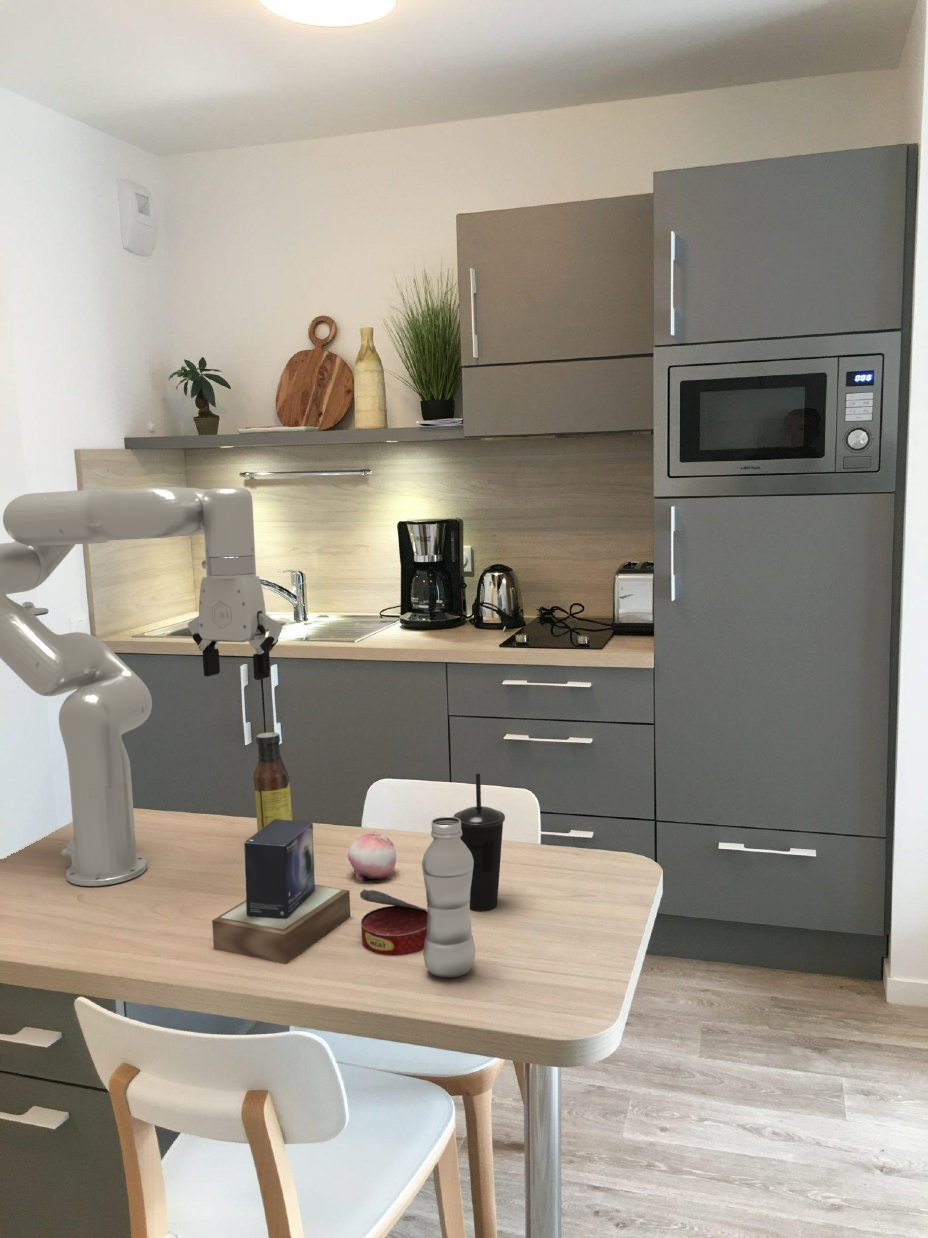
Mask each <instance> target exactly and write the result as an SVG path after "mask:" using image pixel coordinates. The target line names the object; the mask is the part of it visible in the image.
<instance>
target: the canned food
mask: <svg viewBox="0 0 928 1238" xmlns="http://www.w3.org/2000/svg"><path fill="white" fill-rule="evenodd" d="M359 896H360V899H362V901H366V902H369V903H376V904H380V905H388V906H384V907H379V908H376V909H373V910H371V911H369V912H367V913H366V914H365V915H364V916H363V917H362V918H361V921H360V924H361V926H360V927H361V944H362V946H363V948H365V950H367V951H369V952H371V953H372V954H376V955H380V956H381V955H382V956H391V957H392V956H406V955H410V954H415V953H418V952H420V951H422V950H423V951H424V942H425V937H426V929H427V914H428V912H427V908H423V907H419V906H418V905H415V904H412V903H409V902H407V901H404V900H402V899H399V898H396V897H394V896H392V895H390V894H387V893H385V892H382V891H379V890H374V889H373V890H372V889H370V890H367V889H366V888H364V889H363V890H361V891H360V893H359Z"/></svg>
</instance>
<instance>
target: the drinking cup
mask: <svg viewBox="0 0 928 1238" xmlns="http://www.w3.org/2000/svg"><path fill="white" fill-rule="evenodd" d="M481 786H482V784H481V773H475V796H476V800H475V801H476V803H475V804H476V805H475V806H471V807H467V808H464V809H463V810H460V811H458V812H456V813H454V814H453V816H452V817H455V818H458V819H460V820H461V830H462V836H461V837H460V839H461V840H462V841H463V842H464V844H465V845H466V846H467V847H468V849H469V850H470V852H471V853H472V857H473V860H474V864H473V874H472V882H471V889H470V902H469V903H470V911H475V912H486V911H490V910H491V911H492V910H493V909H495V908H496V907H497V906H498V901H499V900H498V898H499V884H500V870H501V869H500V868H501V855H502V840H503V829H504V823H505V820H506V815H505V813H504V812H502V811H500V810H498V809H495V808H492V807H489V806H482V793H481V791H482V787H481Z"/></svg>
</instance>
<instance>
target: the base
mask: <svg viewBox="0 0 928 1238" xmlns="http://www.w3.org/2000/svg"><path fill="white" fill-rule="evenodd" d="M350 894H351V893H350V889H349V890H348V889H343V888H338V887H331V886H326V885H321V884H315V890H314V891H313V892H312V893H311V894H310V895H309V896H308V897H307V898H306V899H305V900H304V901H303V902H302V903H301V904H300V905H299V906H298V907H297V908H296V909H295V910H294V911H293V912H292V913H291V914H290V915H289V916H288V917H287V918H278V917H268V916H257V915H246V899H245V900H244V901H242V902H240V903H239V904H237V905H235V906H233V907H232V908H230V909H229V910H227V911H225V912H223V913H222V914H221V915H219V916H217V917H215V918H213V919H212V920H211V921H212V924H211V925H212V937H213V938H212V940H213V949H215V950H220V951H225V952H229V953H234V954H240V955H244V956H249V957H253V958H258V959H263V960H267V961H271V962H273V961H274V962H278V963H282V964H289V963H290V962H291V961H292V960H293V959H295V958H296V957H298V956H299V955H300V954H302V953H303V952H304V951H306V950H307V949H309V948H310V947H312V946H313V945H314V944H315V943H317V942H318V941H319V940H321V939H322V938H323V937H325V936H326V935H328V934H329V933H330V932H332V931H333V930H334V929H336V928H338V927H339V926H340V925H341V924H343V923H344V922H345V921H347V920H348V919H349V918H351V917H352V915H351V897H350Z"/></svg>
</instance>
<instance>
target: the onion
mask: <svg viewBox="0 0 928 1238" xmlns="http://www.w3.org/2000/svg"><path fill="white" fill-rule="evenodd" d="M347 858H348V861H349V863H350V865H351V867H352V869H354V870H353V871H354V881H355V884H361V883H362V884H363V883H364V884H371V883H372V884H374V883H380V882H382V881H381V880H382V879H384V878H387V877H389V875H391V874H392V873H393V871H394V869H395V868H396V863H397V852H396V849H395V845H394V843H393V841H392V840H391V839H390V838H389V837H388V836H387V835H385V834H382V833H379V832H377V831H373V833H367V834H363V835H361V836H360V837H358V838H357V839H356V840H355V841H354V842H353V843H352V844H351V845H350V847H349V849H348V853H347ZM369 879H370V880H374V881H369V882H367V881H366V880H369Z"/></svg>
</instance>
